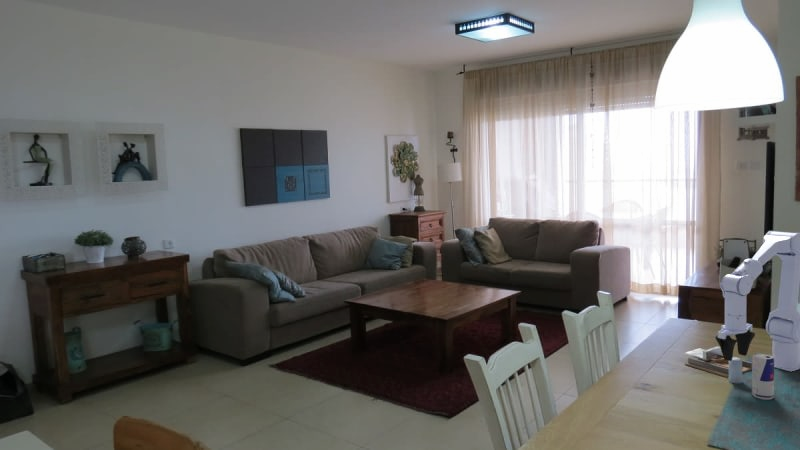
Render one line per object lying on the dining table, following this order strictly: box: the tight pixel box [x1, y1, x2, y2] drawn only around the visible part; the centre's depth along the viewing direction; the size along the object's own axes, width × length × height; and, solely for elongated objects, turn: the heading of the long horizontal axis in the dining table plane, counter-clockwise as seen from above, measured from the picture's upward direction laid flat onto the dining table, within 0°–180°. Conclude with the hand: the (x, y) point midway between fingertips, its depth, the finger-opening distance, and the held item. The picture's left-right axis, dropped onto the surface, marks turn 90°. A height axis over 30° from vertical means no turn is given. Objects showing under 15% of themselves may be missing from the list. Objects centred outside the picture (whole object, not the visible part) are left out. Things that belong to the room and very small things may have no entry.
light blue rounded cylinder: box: [728, 356, 743, 384], centre depth 178 cm, size 4×4×7 cm
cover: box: [683, 345, 722, 361], centre depth 196 cm, size 8×8×3 cm
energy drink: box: [751, 352, 775, 401], centre depth 166 cm, size 5×5×12 cm
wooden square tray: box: [684, 353, 752, 379], centre depth 191 cm, size 14×15×2 cm
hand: (735, 357), depth 178 cm, fingers open, 7 cm apart
